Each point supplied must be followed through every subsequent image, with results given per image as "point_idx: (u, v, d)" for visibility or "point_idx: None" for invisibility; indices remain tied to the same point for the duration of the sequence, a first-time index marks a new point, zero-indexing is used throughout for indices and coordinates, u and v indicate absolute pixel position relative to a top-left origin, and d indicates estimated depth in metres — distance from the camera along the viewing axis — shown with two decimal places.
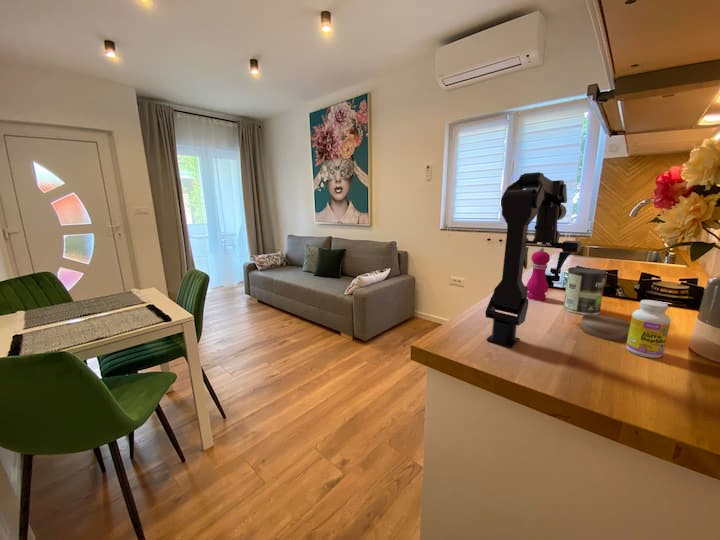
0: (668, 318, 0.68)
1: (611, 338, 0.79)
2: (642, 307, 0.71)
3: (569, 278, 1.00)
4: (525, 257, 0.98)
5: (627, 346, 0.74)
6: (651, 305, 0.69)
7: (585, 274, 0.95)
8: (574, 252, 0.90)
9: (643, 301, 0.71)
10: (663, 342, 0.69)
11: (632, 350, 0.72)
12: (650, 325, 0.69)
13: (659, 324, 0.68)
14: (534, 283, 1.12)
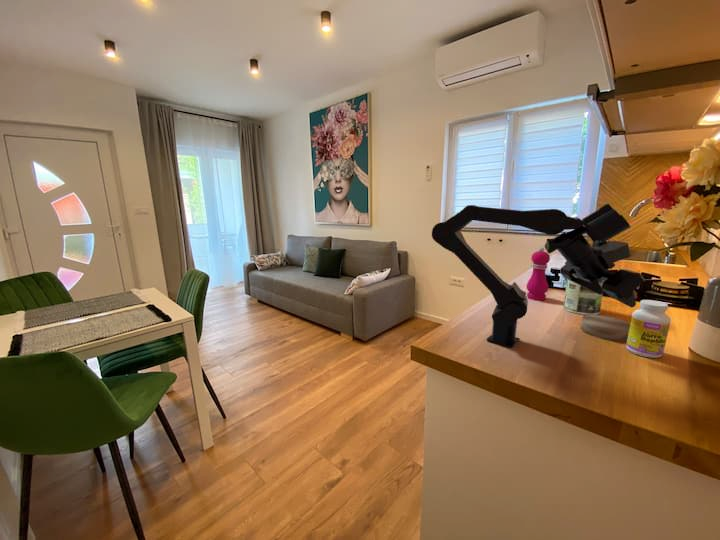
0: (668, 318, 0.68)
1: (611, 338, 0.79)
2: (642, 307, 0.71)
3: None
4: (589, 284, 0.75)
5: (627, 346, 0.74)
6: (651, 305, 0.69)
7: None
8: None
9: (643, 301, 0.71)
10: (663, 342, 0.69)
11: (632, 350, 0.72)
12: (650, 325, 0.69)
13: (659, 324, 0.68)
14: (534, 283, 1.12)
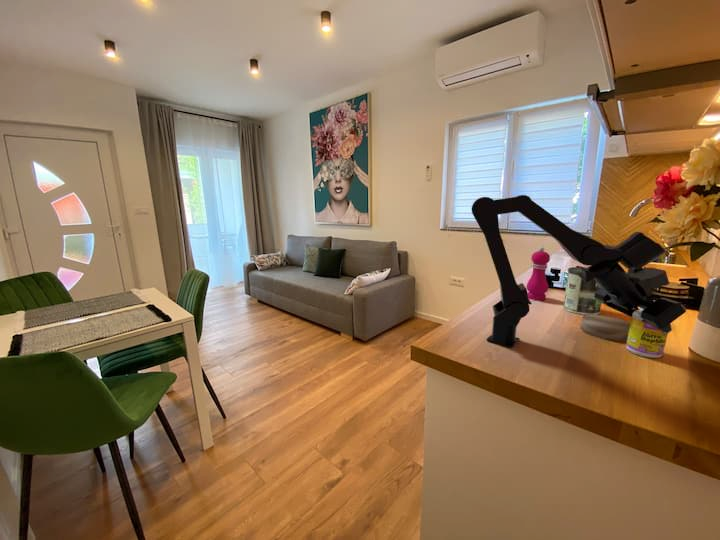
0: None
1: (611, 338, 0.79)
2: None
3: (569, 278, 1.00)
4: (629, 311, 0.74)
5: (627, 346, 0.74)
6: None
7: None
8: None
9: None
10: (663, 342, 0.69)
11: (632, 350, 0.72)
12: (650, 325, 0.69)
13: None
14: (534, 283, 1.12)
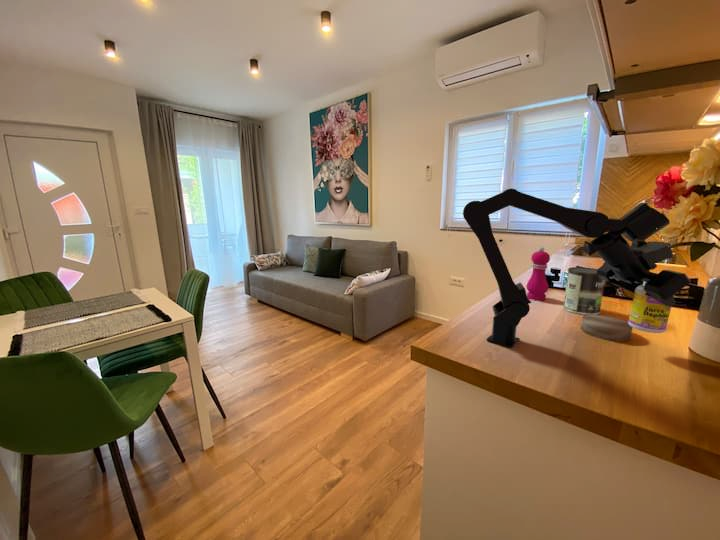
0: None
1: (611, 338, 0.79)
2: (645, 282, 0.70)
3: (569, 278, 1.00)
4: (632, 287, 0.73)
5: (629, 322, 0.73)
6: None
7: (585, 274, 0.95)
8: None
9: None
10: (666, 317, 0.68)
11: (634, 326, 0.71)
12: (653, 300, 0.68)
13: None
14: (534, 283, 1.12)
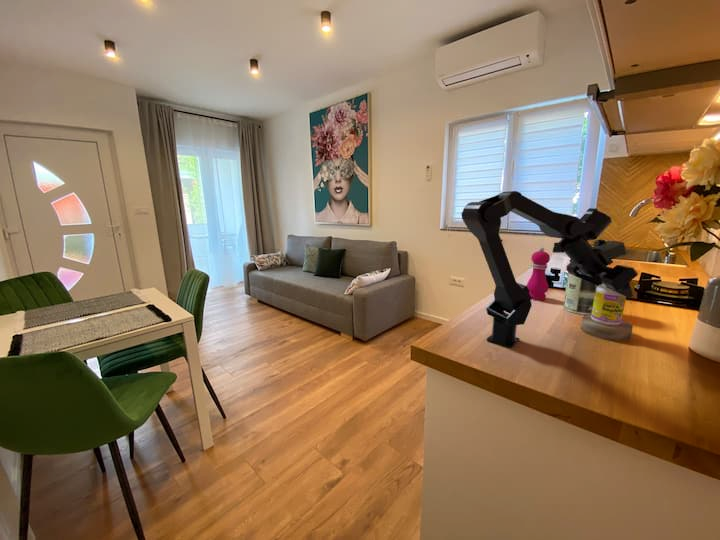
0: None
1: (611, 338, 0.79)
2: None
3: (569, 278, 1.00)
4: (593, 279, 0.86)
5: (591, 316, 0.85)
6: None
7: None
8: None
9: None
10: (621, 312, 0.80)
11: (595, 319, 0.83)
12: (609, 297, 0.80)
13: (616, 296, 0.79)
14: (534, 283, 1.12)
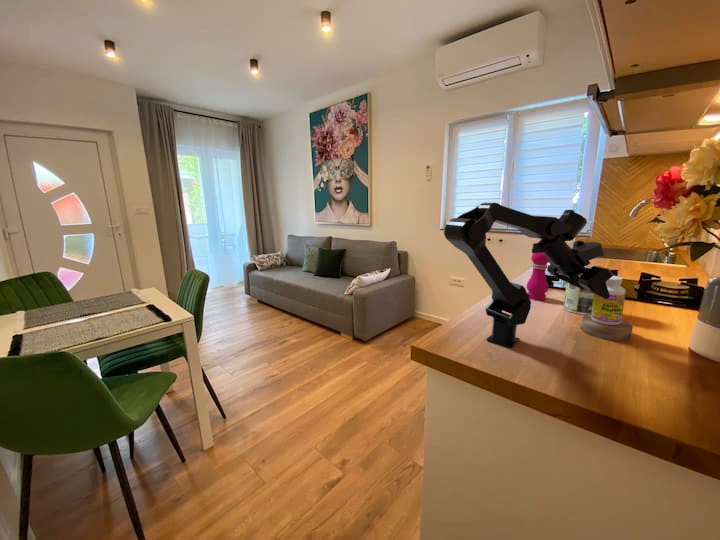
0: (623, 289, 0.79)
1: (611, 338, 0.79)
2: None
3: None
4: (572, 280, 0.86)
5: (592, 317, 0.85)
6: None
7: None
8: None
9: None
10: (620, 311, 0.80)
11: (596, 320, 0.83)
12: None
13: (615, 295, 0.79)
14: (534, 283, 1.12)
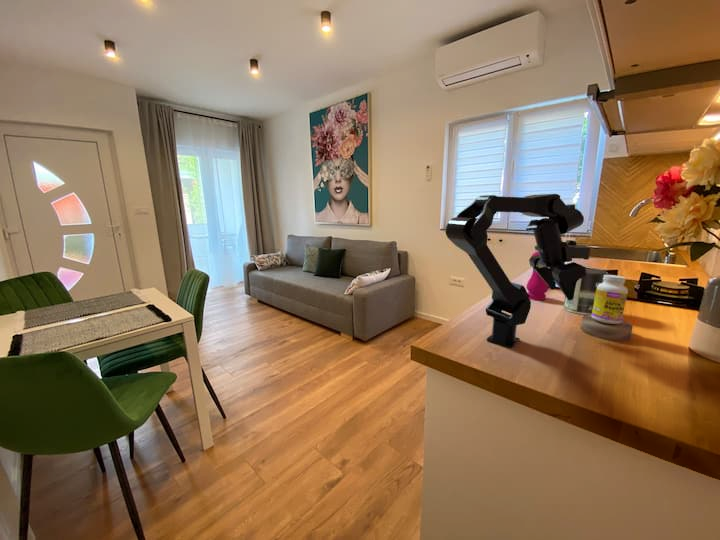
0: (626, 288, 0.80)
1: (610, 338, 0.79)
2: (605, 280, 0.82)
3: None
4: (547, 277, 0.85)
5: (592, 315, 0.84)
6: (613, 277, 0.80)
7: None
8: (578, 278, 0.72)
9: (606, 275, 0.83)
10: (622, 310, 0.80)
11: (597, 318, 0.83)
12: (612, 295, 0.80)
13: (619, 293, 0.79)
14: (534, 283, 1.12)
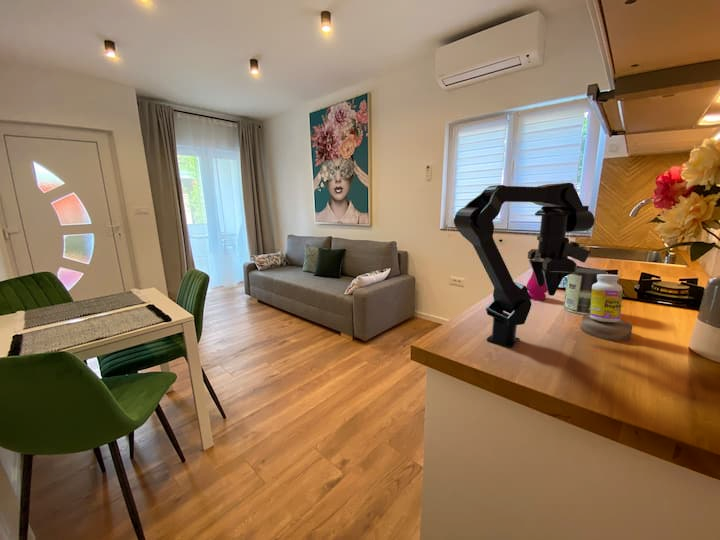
0: (621, 286, 0.81)
1: (610, 338, 0.79)
2: (600, 279, 0.83)
3: (569, 278, 1.00)
4: (538, 272, 0.85)
5: (592, 316, 0.84)
6: (608, 276, 0.81)
7: (585, 274, 0.95)
8: (565, 273, 0.71)
9: (599, 274, 0.83)
10: (620, 307, 0.81)
11: (598, 318, 0.82)
12: (610, 293, 0.80)
13: (616, 291, 0.80)
14: (534, 283, 1.12)
